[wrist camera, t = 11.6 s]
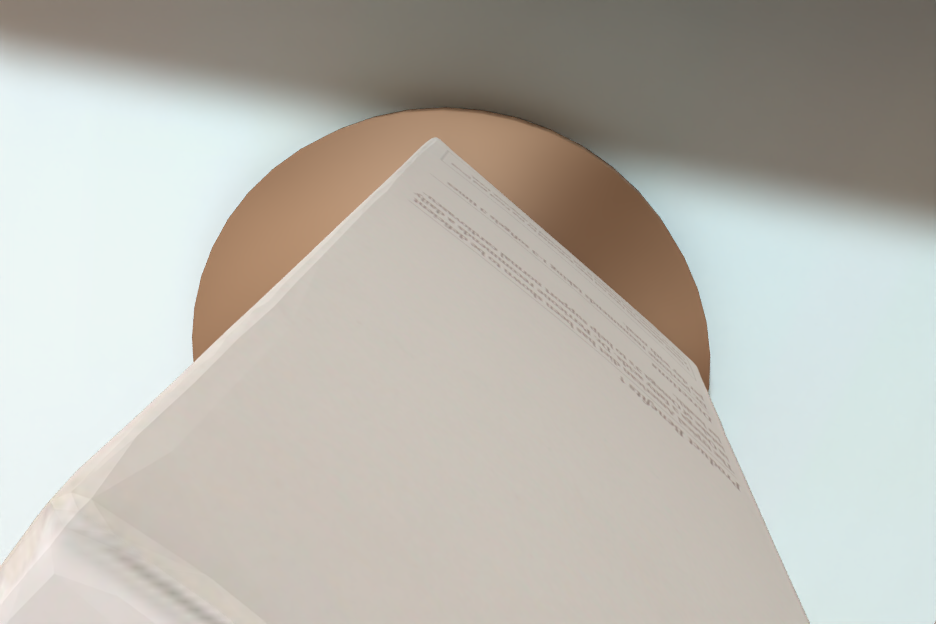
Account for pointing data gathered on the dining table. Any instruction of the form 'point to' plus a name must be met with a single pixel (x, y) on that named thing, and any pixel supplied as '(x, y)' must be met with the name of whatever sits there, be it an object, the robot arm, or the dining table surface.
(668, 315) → the coaster
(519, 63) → the dining table surface
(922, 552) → the dining table surface
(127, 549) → the supplement box
